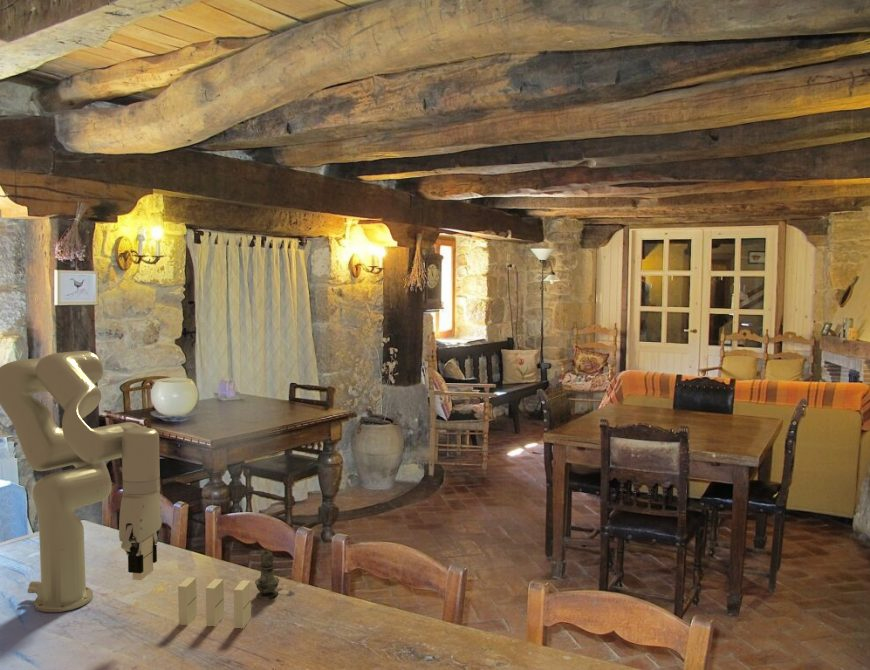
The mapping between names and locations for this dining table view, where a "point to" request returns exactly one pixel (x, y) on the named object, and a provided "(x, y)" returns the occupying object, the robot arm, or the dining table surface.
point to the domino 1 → (145, 558)
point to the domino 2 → (187, 600)
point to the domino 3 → (214, 602)
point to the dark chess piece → (267, 578)
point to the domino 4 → (242, 604)
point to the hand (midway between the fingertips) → (142, 566)
